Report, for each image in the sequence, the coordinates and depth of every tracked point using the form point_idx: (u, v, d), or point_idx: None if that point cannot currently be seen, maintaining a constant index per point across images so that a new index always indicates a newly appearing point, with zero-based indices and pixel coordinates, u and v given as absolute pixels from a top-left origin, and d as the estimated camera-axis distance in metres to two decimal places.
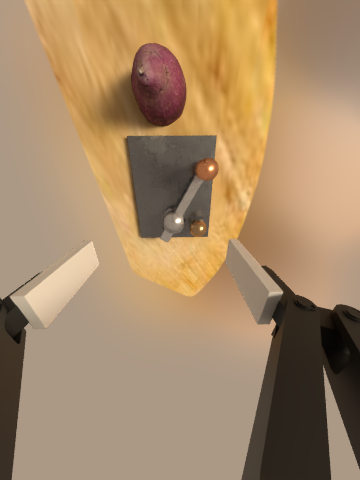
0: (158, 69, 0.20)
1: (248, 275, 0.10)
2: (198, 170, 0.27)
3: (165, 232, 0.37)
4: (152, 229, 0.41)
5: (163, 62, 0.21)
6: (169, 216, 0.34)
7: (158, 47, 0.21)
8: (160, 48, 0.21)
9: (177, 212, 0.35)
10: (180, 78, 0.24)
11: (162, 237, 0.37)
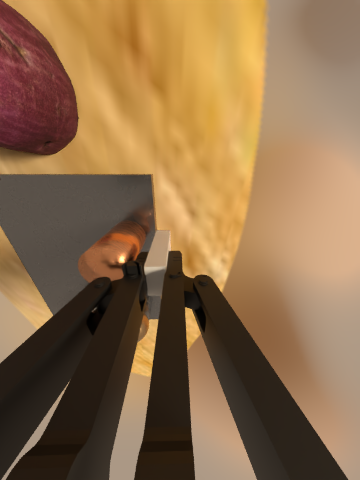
0: None
1: None
2: (82, 271, 0.12)
3: None
4: None
5: None
6: None
7: None
8: None
9: None
10: None
11: None
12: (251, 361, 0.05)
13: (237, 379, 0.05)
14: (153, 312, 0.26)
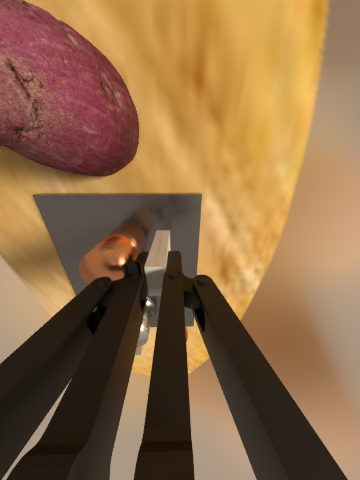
0: None
1: None
2: (88, 281, 0.12)
3: None
4: None
5: None
6: None
7: None
8: None
9: None
10: (97, 94, 0.09)
11: None
12: (250, 361, 0.05)
13: (236, 379, 0.05)
14: (185, 319, 0.27)
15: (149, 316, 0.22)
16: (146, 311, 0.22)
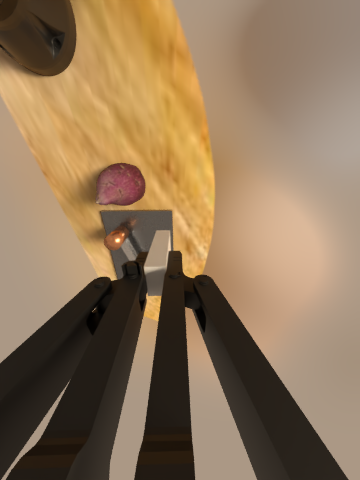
0: (112, 194, 0.28)
1: None
2: (109, 248, 0.35)
3: None
4: None
5: (117, 186, 0.29)
6: None
7: (113, 176, 0.29)
8: (114, 177, 0.29)
9: None
10: (134, 186, 0.32)
11: None
12: (251, 361, 0.05)
13: (237, 379, 0.05)
14: None
15: None
16: None
